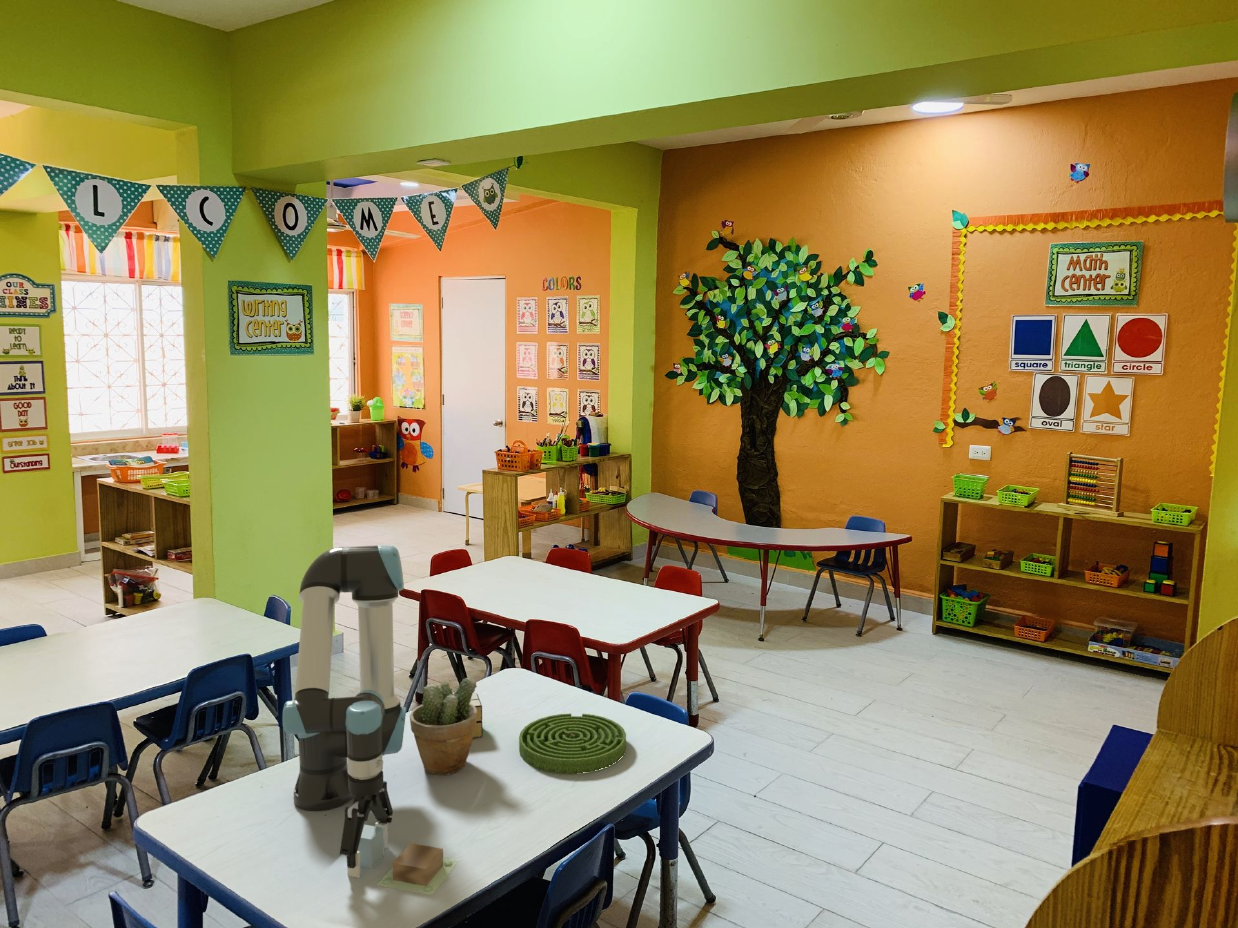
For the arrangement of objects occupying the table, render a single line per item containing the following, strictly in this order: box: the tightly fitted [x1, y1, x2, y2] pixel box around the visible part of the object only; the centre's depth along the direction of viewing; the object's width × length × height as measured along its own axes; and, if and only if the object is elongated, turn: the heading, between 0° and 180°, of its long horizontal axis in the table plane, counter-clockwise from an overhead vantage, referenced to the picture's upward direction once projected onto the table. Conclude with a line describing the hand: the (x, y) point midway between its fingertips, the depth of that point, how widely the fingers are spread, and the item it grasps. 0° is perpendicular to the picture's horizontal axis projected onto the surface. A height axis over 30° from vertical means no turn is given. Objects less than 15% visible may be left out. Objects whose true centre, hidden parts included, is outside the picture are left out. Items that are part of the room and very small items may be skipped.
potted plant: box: [409, 677, 477, 776], centre depth 247 cm, size 18×19×25 cm
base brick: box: [392, 842, 444, 886], centre depth 197 cm, size 8×8×4 cm
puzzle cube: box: [470, 692, 483, 739], centre depth 269 cm, size 10×10×10 cm
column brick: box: [358, 824, 385, 870], centre depth 201 cm, size 5×5×8 cm
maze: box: [518, 713, 627, 775], centre depth 259 cm, size 31×31×5 cm
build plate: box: [376, 857, 459, 896], centre depth 197 cm, size 13×13×1 cm
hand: (368, 863), depth 202 cm, fingers open, 11 cm apart
